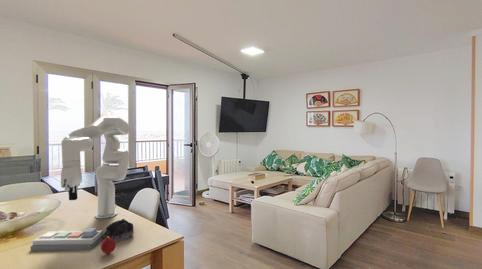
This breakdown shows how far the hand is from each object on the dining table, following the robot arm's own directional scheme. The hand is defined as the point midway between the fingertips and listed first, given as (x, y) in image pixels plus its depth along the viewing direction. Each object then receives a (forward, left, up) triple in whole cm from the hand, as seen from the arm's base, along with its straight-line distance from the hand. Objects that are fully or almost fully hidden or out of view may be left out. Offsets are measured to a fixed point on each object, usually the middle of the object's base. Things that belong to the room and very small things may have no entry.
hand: (73, 199), depth 126 cm
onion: (+18, +25, -19) cm, 36 cm away
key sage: (+7, -1, -17) cm, 18 cm away
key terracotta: (+7, +5, -17) cm, 19 cm away
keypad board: (+7, +2, -19) cm, 20 cm away
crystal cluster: (0, +22, -20) cm, 30 cm away
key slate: (+7, +11, -15) cm, 20 cm away
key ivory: (+7, -7, -17) cm, 20 cm away
